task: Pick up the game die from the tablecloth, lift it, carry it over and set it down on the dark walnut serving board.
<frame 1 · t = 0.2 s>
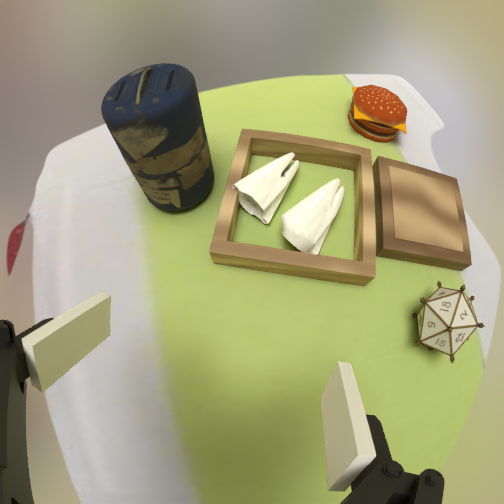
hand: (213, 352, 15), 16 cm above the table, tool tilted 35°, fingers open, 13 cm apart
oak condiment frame: (299, 206, 36), on the table
game die: (428, 326, 30), on the table
white folded napkins: (298, 206, 36), resting in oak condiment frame
canister: (181, 186, 38), on the table
walnut board: (419, 216, 35), on the table
hamburger: (372, 124, 42), on the table
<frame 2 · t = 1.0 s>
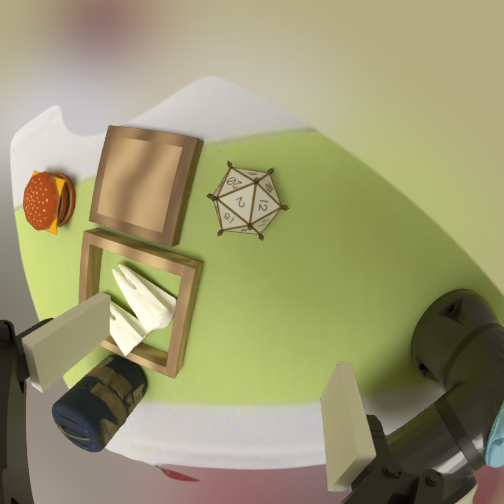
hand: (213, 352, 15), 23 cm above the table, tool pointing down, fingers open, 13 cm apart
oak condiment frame: (137, 299, 41), on the table
game die: (251, 200, 36), on the table
white folded napkins: (137, 300, 41), resting in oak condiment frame
canister: (126, 374, 44), on the table
walnut board: (144, 182, 37), on the table
hamburger: (59, 200, 40), on the table
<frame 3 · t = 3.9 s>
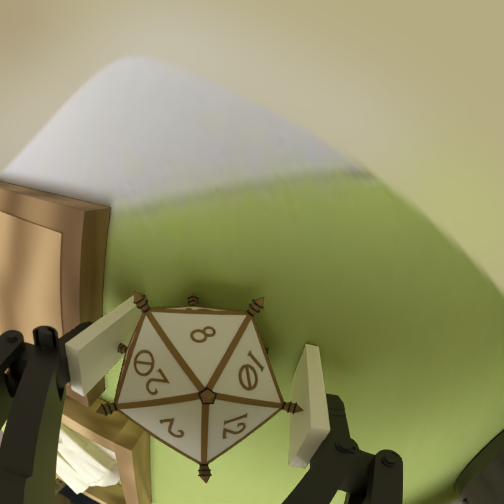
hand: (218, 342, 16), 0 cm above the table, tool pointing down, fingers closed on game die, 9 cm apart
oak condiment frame: (74, 434, 21), on the table
game die: (217, 338, 16), on the table, touching gripper
white folded napkins: (75, 434, 21), resting in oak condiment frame
canister: (90, 488, 25), on the table
walnut board: (35, 282, 17), on the table
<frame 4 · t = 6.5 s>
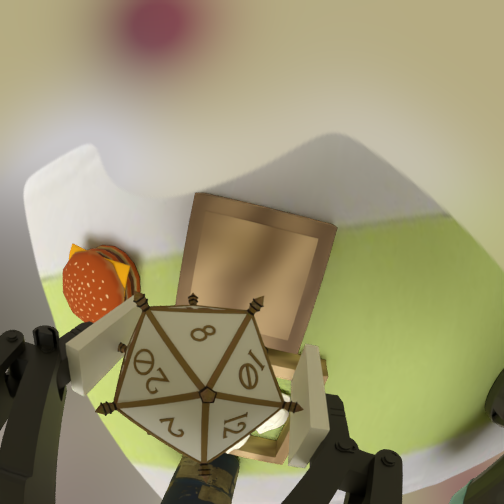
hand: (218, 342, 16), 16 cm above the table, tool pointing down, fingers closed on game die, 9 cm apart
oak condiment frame: (237, 396, 35), on the table
game die: (217, 337, 16), point 15 cm above the table, touching gripper
white folded napkins: (236, 396, 35), resting in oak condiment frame
canister: (212, 455, 38), on the table
walnut board: (251, 271, 31), on the table
hamburger: (112, 279, 34), on the table
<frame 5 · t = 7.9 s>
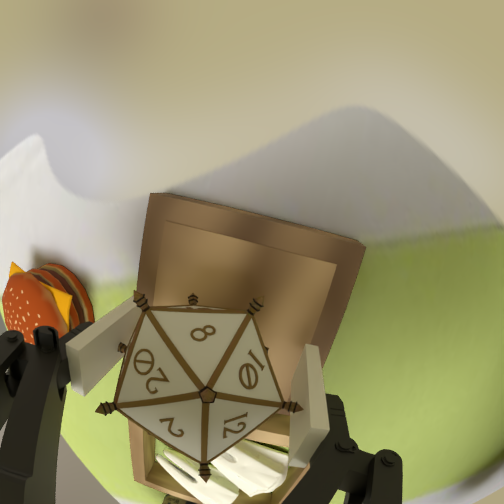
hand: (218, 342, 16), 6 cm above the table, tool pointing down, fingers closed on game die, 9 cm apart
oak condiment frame: (222, 451, 25), on the table
game die: (217, 337, 16), point 5 cm above the table, touching gripper
white folded napkins: (222, 451, 25), resting in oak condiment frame
canister: (198, 501, 29), on the table
walnut board: (236, 307, 21), on the table
hamburger: (64, 306, 24), on the table
when the fingers open (4 cm above the table, at t = 9.1 s): game die drops 1 cm, resting on walnut board.
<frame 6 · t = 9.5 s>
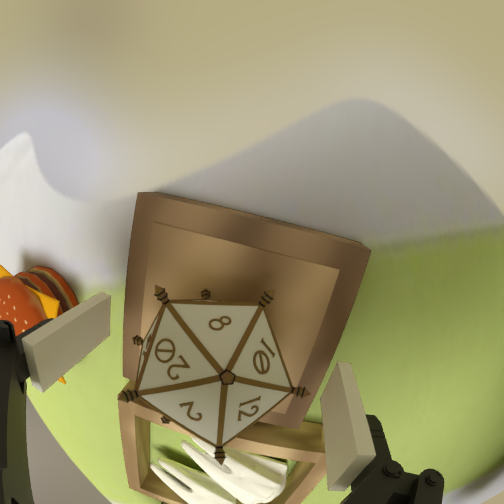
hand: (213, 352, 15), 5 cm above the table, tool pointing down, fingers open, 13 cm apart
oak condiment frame: (218, 460, 23), on the table
game die: (227, 330, 17), point 2 cm above the table, touching walnut board
white folded napkins: (218, 460, 24), resting in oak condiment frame
walnut board: (231, 314, 20), on the table
hamburger: (54, 310, 23), on the table
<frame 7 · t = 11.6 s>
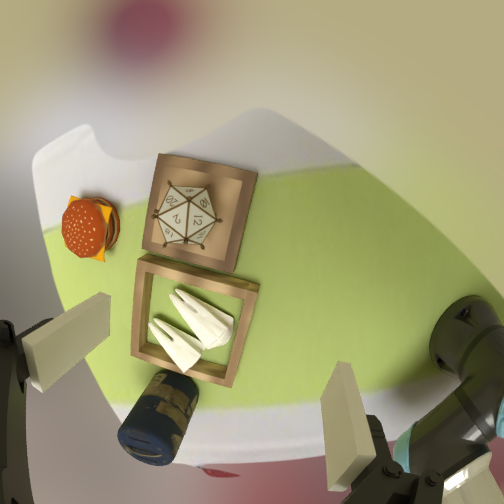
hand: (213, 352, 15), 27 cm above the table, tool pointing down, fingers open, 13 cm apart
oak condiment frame: (191, 319, 45), on the table
game die: (195, 212, 38), point 2 cm above the table, touching walnut board
white folded napkins: (191, 319, 45), resting in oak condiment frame
canister: (176, 386, 49), on the table
walnut board: (199, 210, 41), on the table
hamburger: (99, 224, 43), on the table
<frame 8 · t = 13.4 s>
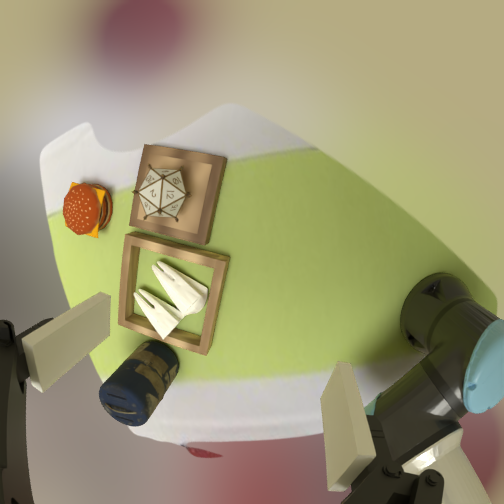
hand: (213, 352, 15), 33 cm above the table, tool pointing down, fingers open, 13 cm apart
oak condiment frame: (172, 290, 50), on the table
game die: (173, 192, 44), point 2 cm above the table, touching walnut board
white folded napkins: (172, 291, 50), resting in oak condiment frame
canister: (159, 358, 54), on the table
walnut board: (178, 192, 47), on the table
hamburger: (96, 207, 49), on the table
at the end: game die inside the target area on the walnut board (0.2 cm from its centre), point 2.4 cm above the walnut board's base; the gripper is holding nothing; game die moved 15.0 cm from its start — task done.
